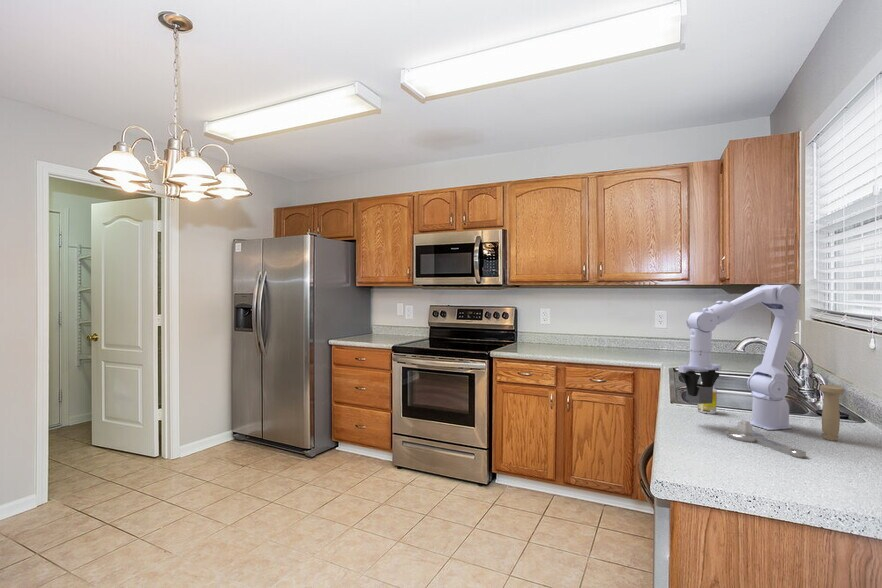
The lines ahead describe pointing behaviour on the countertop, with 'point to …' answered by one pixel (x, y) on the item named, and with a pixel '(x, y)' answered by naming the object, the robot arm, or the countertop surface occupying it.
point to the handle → (831, 411)
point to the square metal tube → (701, 394)
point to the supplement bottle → (709, 404)
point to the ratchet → (761, 439)
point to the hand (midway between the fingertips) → (699, 395)
